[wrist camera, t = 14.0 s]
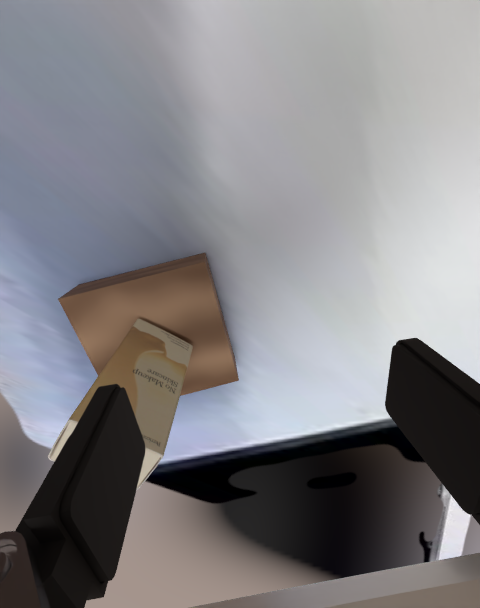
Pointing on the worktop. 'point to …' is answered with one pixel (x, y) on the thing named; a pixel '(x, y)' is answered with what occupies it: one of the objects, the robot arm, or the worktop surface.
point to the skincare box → (142, 387)
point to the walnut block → (157, 316)
